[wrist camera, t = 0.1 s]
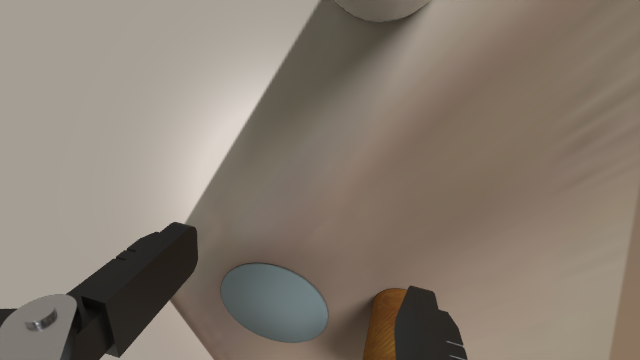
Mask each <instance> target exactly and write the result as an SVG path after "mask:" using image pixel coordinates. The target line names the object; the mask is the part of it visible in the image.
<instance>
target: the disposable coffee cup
mask: <svg viewBox="0 0 640 360" xmlns="http://www.w3.org/2000/svg"><path fill="white" fill-rule="evenodd" d="M406 292H407V290H404V289H388V290H385V291H382V292H380V293H379V294H378V295H377V296H376V297H375V299H374V302H373V307H372V313H371V318H370V323H369V328H368V334H367V339H366V344H365V349H364V355H363V360H396V356H395V339H394V327H395V320H396V316H397V313H398V311H399V309H400V306H401V304H402V301H403V299H404V297H405V294H406Z"/></svg>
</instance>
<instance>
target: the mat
mask: <svg viewBox="0 0 640 360" xmlns="http://www.w3.org/2000/svg"><path fill="white" fill-rule="evenodd" d="M221 297H222V300H223V303H224V305H225V307H226V309H227V310H228V312H229V313H230V314H231V315H232V316H233V317H234V319H235V320H237V321H238V322H239V323H240V324H241V325H243V326H244V327H245V328H247V329H248V330H250V331H252V332H254V333H255V334H258V335H260V336H262V337H265V338H268V339H271V340H274V341H279V342H287V343H297V342H304V341H308V340H311V339H313V338H315V337H317V336H318V335H319V334H321V333H322V332H323V330H324V329H325V327H326V324H327V320H328V310H327V306H326V303H325V301H324V299H323V297H322V296H321V294H320V293H319V292H318V290H317V289H316V288H315V287H314V286H313V285H312V284H311V283H309V282H308V281H307V280H306V279H304V278H303V277H301V276H300V275H298V274H296V273H294V272H292V271H290V270H288V269H285V268H282V267H279V266H276V265H271V264H264V263H250V264H245V265H241V266H238V267H236V268H234V269H232V270H231V271H230V272H229V273H228V274H227V275H226V276H225V278H224V280H223V282H222V285H221Z"/></svg>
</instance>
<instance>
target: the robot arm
mask: <svg viewBox="0 0 640 360" xmlns="http://www.w3.org/2000/svg"><path fill="white" fill-rule="evenodd" d="M333 1H335V2H336V3H337V4H339V5H340V6H341V7H342V8H343V9H344V10H345V11H347V12H348V13H350V14H351V15H354V16H355V17H358V18H360V19H362V20H366V21H370V22H383V23H385V22H390V21H396V20H399V19H402V18H404V17H406V16H409V15H411V14H412V13H414V12H415V11H417V10H418V9H420V8H421V7H423V6H424V5H425V4H427V3H428V2H429V1H431V0H333ZM197 261H198V249H197V230H196V228H195V227H193V226H189V225H185V224H181V223H178V222H173V223H171V224H170V225H169V226H167V227H166V228H165V229H164V230H162V231H161V232H160V233H159V232H154V233H152V234H149V235H147V236H145V237H143V238H140V239H139V240H138V241H136V242H135V243H134V244H132V245H131V246H130V247H128V248H127V250H126V251H125V250H124V251H123V252H122V253H120V254H119V255H118V256H117V257H116V259H112V260H111V261H110V262H108V263H107V264H106V265H104V266H103V267H102V268H100V269H99V270H98V271H97V272H95V273H94V274H92V275H91V276H90V277H88V278H87V279H86V280H85V281H83V282H82V283H81V284H79V285H78V286H77V287H75V288H74V289H73V290H71V291H70V292H68V293H67V294H65V295H64V294H56V295H49V296H45V297H41V298H38V299H36V300H33V301H31V302H29V303H27V304H25V305H24V306H22V307H20V308H19V309H0V360H99V359H100V358H101V357H102V356H103V355H104V354H105V353H106V354H109V355H112V356H115V357H118V358H119V357H120V356H121V355H122V354H123V353H124V352H125V351H126V349H127V348H128V347H129V346H130V345H131V344H132V342H133V341H134V340H135V339H136V338H137V337H138V335H139V334H140V333H141V332H142V331H143V330H144V329H145V327H146V326H147V325H148V324H149V323H150V322H151V321H152V319H153V318H154V317H155V316H156V315H157V314H158V312H159V311H160V310H161V309H162V308H163V307H164V305H165V304H166V303H167V302H168V301H169V300H170V299H171V297H172V296H173V295H174V294H175V293H176V292H177V291H178V289H179V288H180V287H181V286H182V285H183V284H184V282H185V281H186V280H187V279H188V278H189V277H190V275H191V274H192V273H193V271H194V269H195V267H196V265H197ZM394 339H395V356H396V360H468V359H467V355H466V352H465V349H464V348H463V342H462V339H461V335H460V332H459V329H458V327H457V325H456V324H455V322H454V321H453V319H452V318H451V316H450V315H449V313H448V312H445V311H441V310H439V309H438V305H437V301H436V297H435V294H434V292H433V291H429V290H426V289H422V288H418V287H414V286H409V288H408V290H407V292H406V294H405V297H404V299H403V301H402V304H401V306H400V309H399V311H398V313H397V316H396V320H395V327H394Z"/></svg>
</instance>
